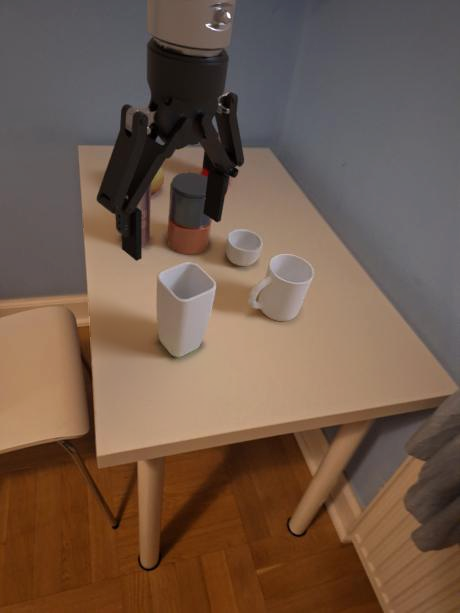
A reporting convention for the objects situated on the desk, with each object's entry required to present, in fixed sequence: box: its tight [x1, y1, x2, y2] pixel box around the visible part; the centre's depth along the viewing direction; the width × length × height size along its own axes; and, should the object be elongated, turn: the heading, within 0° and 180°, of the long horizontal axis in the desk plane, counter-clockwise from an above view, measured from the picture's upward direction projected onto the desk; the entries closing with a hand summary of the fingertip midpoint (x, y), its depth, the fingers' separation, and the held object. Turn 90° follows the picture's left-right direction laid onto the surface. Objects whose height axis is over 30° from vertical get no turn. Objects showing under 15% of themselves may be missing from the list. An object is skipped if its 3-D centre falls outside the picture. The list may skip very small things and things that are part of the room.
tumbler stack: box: [166, 172, 213, 256], centre depth 86 cm, size 9×9×14 cm
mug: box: [248, 253, 315, 322], centre depth 76 cm, size 12×8×10 cm
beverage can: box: [120, 184, 152, 248], centre depth 83 cm, size 6×6×15 cm
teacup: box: [225, 228, 264, 267], centre depth 88 cm, size 10×8×5 cm
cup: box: [155, 261, 217, 358], centre depth 65 cm, size 7×7×15 cm
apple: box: [151, 166, 165, 195], centre depth 100 cm, size 10×10×8 cm
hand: (174, 234), depth 52 cm, fingers open, 13 cm apart
